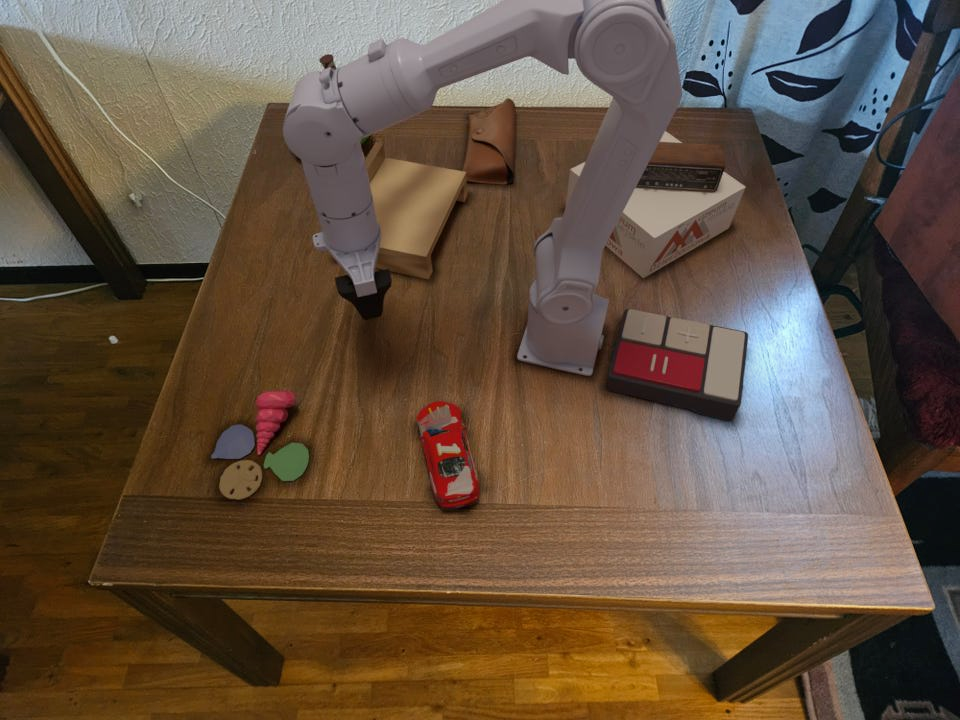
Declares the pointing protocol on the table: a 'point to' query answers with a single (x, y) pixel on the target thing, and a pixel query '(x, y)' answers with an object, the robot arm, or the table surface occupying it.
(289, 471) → the toy pieces
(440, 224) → the light wooden riser
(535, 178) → the table surface
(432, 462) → the race car
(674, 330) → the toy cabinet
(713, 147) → the logo printed box
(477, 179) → the sunglasses case
